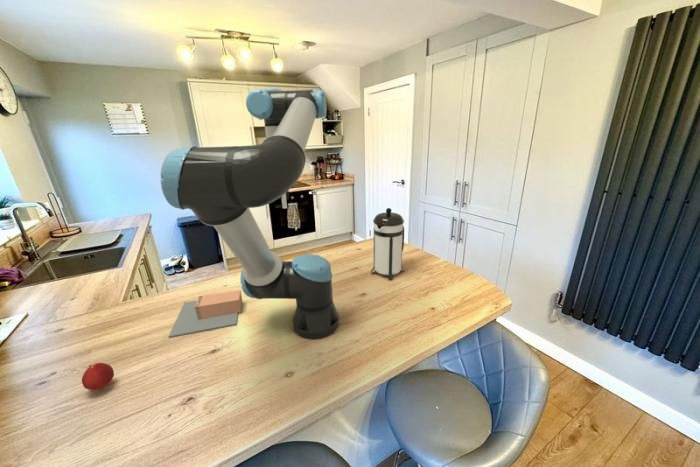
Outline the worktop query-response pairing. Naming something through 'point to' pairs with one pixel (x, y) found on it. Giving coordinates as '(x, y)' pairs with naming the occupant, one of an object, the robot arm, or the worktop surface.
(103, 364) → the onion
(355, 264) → the worktop surface
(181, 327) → the mat
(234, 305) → the tall block
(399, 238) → the coffee press
